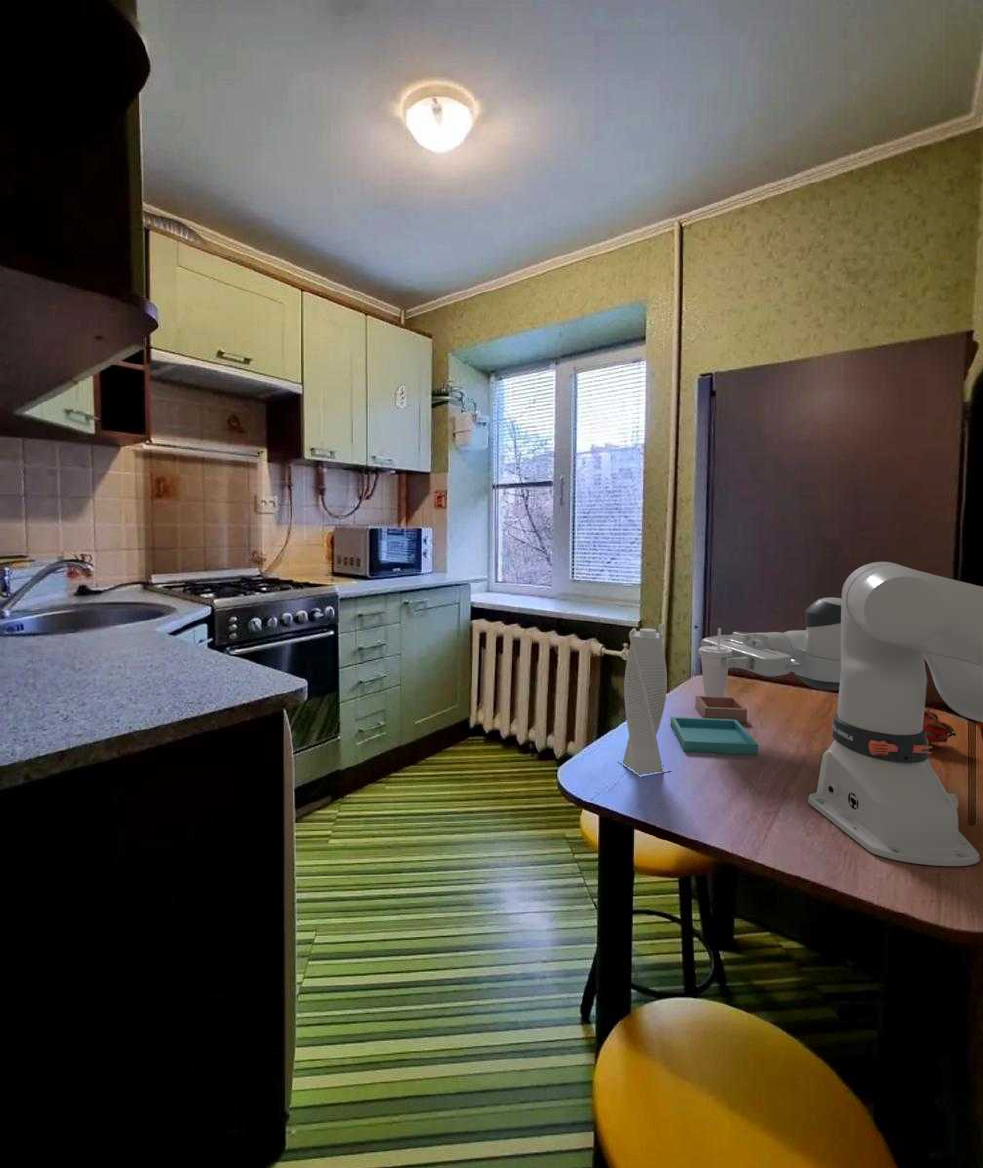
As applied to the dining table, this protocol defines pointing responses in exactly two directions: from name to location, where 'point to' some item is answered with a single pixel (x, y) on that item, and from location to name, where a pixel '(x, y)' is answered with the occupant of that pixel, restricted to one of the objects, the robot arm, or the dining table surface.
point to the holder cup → (721, 708)
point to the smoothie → (714, 668)
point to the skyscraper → (644, 699)
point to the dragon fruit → (936, 728)
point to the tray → (713, 736)
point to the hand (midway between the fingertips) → (711, 658)
